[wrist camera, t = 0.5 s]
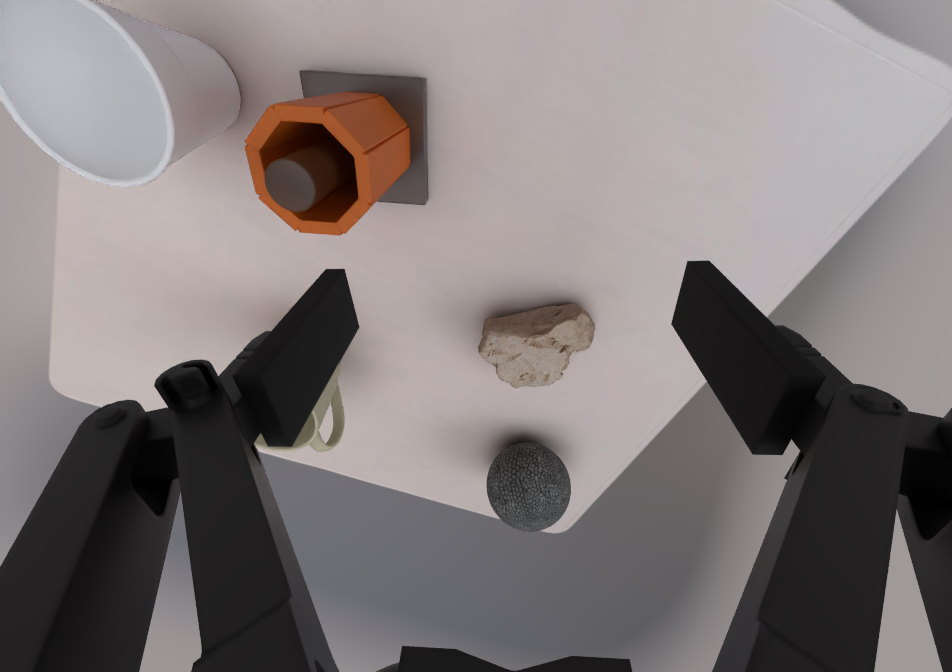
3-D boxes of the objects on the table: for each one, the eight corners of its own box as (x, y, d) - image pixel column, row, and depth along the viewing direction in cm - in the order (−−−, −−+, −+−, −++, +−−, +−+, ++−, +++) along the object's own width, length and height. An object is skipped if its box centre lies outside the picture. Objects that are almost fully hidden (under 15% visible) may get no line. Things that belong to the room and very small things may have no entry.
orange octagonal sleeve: (316, 89, 30) (232, 100, 21) (408, 95, 30) (364, 109, 20) (330, 185, 34) (264, 230, 24) (411, 190, 33) (375, 238, 24)
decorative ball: (521, 485, 57) (523, 558, 48) (472, 448, 53) (465, 519, 45) (581, 456, 52) (594, 529, 44) (532, 413, 49) (537, 484, 40)
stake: (307, 70, 30) (169, 74, 18) (426, 78, 30) (369, 88, 18) (326, 192, 35) (228, 262, 23) (428, 200, 35) (384, 274, 23)
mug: (270, 356, 46) (205, 436, 36) (286, 287, 41) (216, 359, 31) (361, 391, 48) (323, 475, 38) (387, 330, 43) (352, 409, 33)
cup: (178, -34, 27) (16, -82, 18) (293, 101, 32) (206, 116, 22) (112, 70, 31) (-51, 73, 22) (222, 179, 35) (123, 219, 26)
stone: (476, 307, 41) (472, 335, 37) (591, 290, 39) (601, 317, 35) (492, 374, 46) (491, 405, 42) (595, 362, 44) (604, 393, 40)
